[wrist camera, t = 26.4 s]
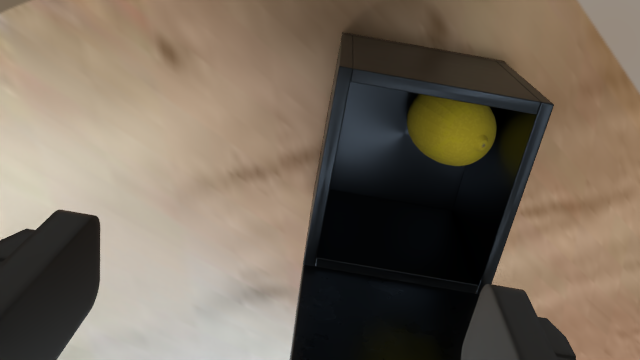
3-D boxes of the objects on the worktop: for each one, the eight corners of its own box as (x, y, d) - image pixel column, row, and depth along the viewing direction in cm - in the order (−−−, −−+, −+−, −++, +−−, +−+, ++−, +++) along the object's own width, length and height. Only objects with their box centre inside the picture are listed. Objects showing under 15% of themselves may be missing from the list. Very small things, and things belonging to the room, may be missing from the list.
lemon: (409, 60, 41) (475, 94, 35) (462, 84, 44) (532, 119, 38) (376, 128, 43) (434, 172, 36) (429, 147, 46) (492, 191, 39)
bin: (342, 31, 43) (339, 66, 32) (504, 61, 43) (554, 104, 32) (313, 191, 49) (302, 265, 38) (457, 216, 49) (487, 297, 38)
